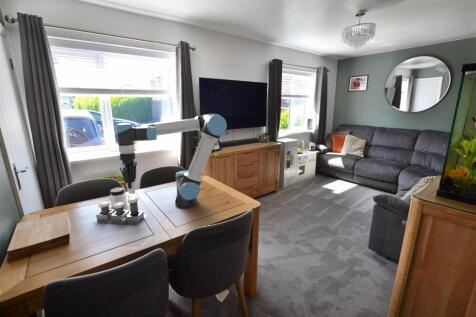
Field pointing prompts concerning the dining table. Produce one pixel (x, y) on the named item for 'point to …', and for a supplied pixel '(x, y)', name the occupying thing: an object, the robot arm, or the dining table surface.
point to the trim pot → (123, 218)
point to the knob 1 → (104, 207)
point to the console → (119, 218)
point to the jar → (118, 196)
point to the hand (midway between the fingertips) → (131, 193)
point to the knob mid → (119, 208)
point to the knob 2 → (133, 205)
